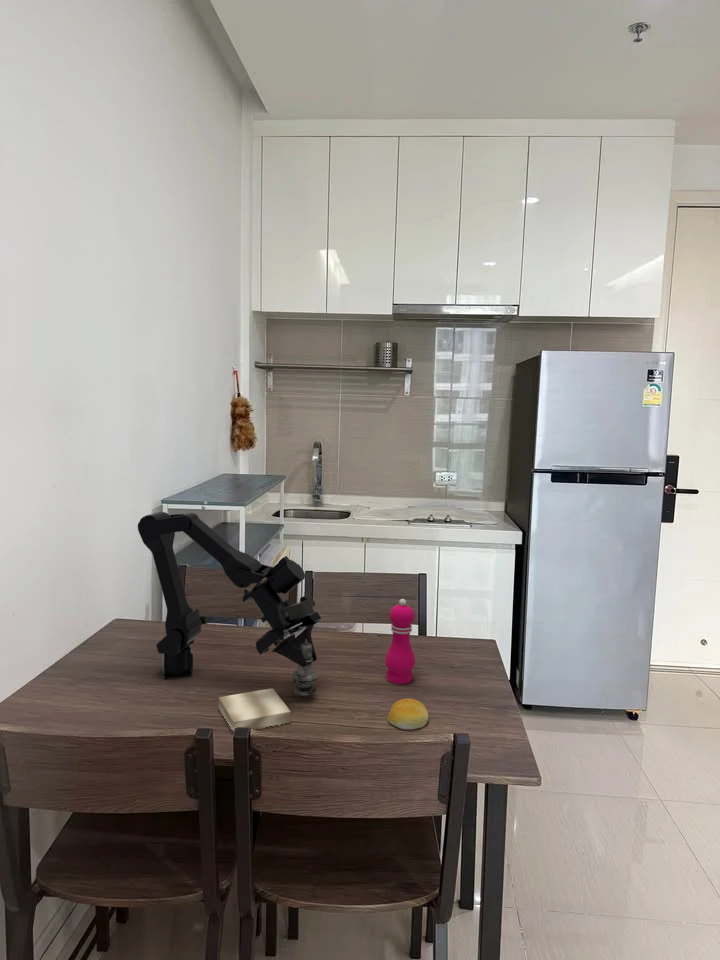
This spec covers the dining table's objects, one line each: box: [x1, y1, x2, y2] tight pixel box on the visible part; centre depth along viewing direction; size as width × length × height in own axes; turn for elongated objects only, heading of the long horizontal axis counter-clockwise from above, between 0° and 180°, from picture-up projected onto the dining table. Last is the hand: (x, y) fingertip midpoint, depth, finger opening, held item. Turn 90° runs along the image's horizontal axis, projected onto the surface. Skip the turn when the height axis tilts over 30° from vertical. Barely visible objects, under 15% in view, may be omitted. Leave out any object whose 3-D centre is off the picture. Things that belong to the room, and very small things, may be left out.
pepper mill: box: [385, 598, 416, 685], centre depth 156 cm, size 7×7×20 cm
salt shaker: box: [291, 639, 319, 696], centre depth 144 cm, size 6×6×12 cm
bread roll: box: [387, 698, 429, 731], centre depth 136 cm, size 8×9×4 cm
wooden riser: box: [218, 688, 292, 730], centre depth 136 cm, size 12×12×2 cm
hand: (310, 663), depth 143 cm, fingers closed on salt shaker, 4 cm apart
